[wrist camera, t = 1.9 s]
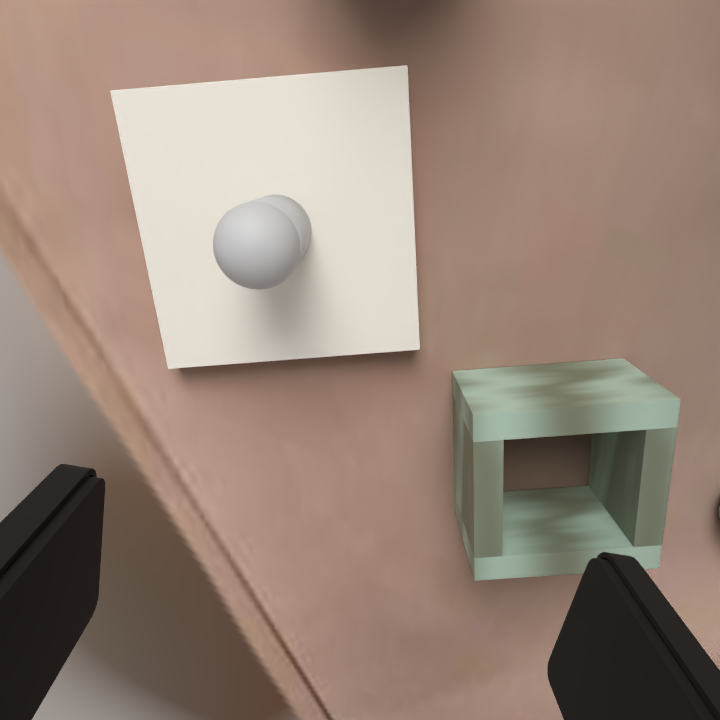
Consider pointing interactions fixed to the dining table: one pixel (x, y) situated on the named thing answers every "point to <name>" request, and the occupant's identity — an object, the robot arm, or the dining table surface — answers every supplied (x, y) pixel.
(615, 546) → the collar
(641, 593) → the robot arm
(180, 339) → the post board
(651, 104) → the dining table surface
